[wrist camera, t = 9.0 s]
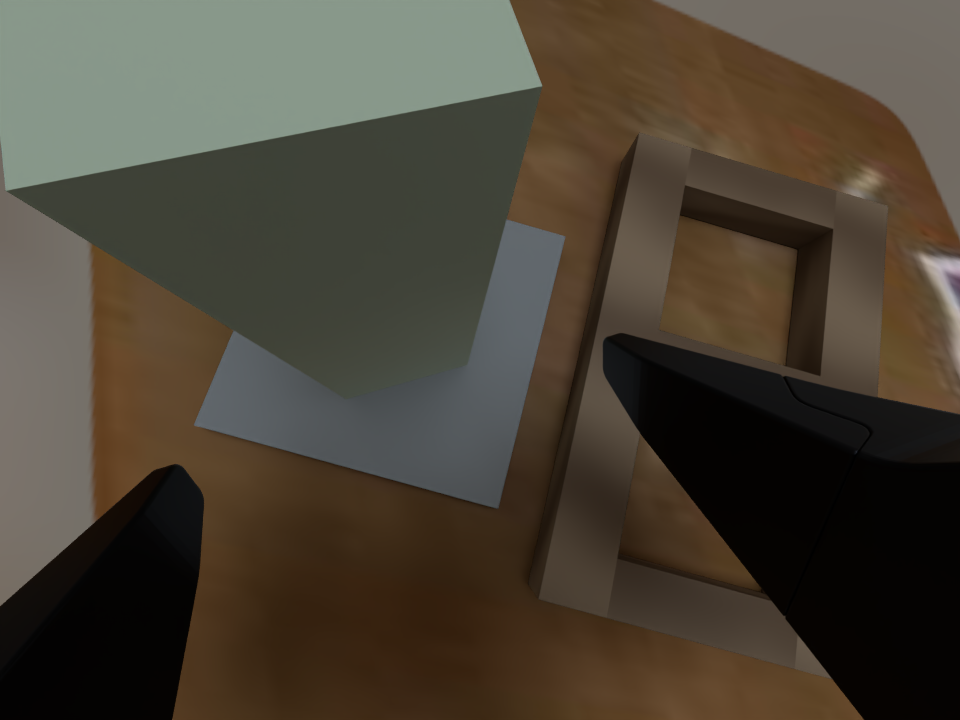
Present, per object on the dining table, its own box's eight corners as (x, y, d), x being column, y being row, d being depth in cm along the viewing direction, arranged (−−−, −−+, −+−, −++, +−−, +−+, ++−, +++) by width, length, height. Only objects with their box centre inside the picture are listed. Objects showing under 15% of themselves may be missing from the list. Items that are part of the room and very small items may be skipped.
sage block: (467, 364, 18) (542, 86, 5) (346, 399, 17) (5, 190, 4) (434, 255, 19) (413, -249, 5) (317, 284, 18) (-39, -214, 5)
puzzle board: (815, 661, 18) (861, 687, 16) (527, 583, 18) (538, 599, 16) (849, 228, 22) (888, 206, 20) (622, 161, 22) (639, 132, 20)
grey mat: (495, 506, 18) (498, 509, 17) (207, 427, 18) (193, 425, 17) (559, 247, 21) (565, 236, 20) (311, 175, 21) (304, 161, 20)
